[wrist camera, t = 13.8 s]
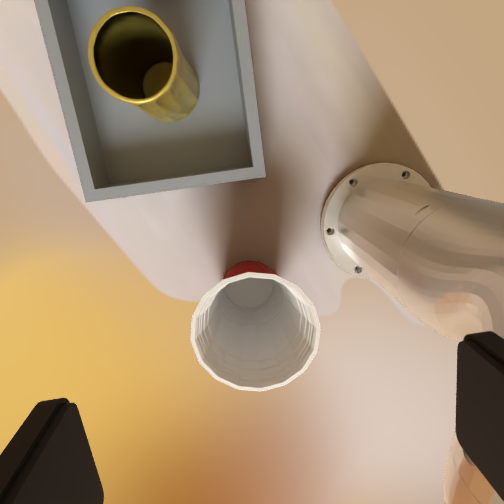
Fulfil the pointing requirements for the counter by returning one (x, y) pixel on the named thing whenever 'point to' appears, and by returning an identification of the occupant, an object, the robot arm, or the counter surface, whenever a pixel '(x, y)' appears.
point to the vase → (142, 64)
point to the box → (138, 122)
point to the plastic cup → (255, 329)
